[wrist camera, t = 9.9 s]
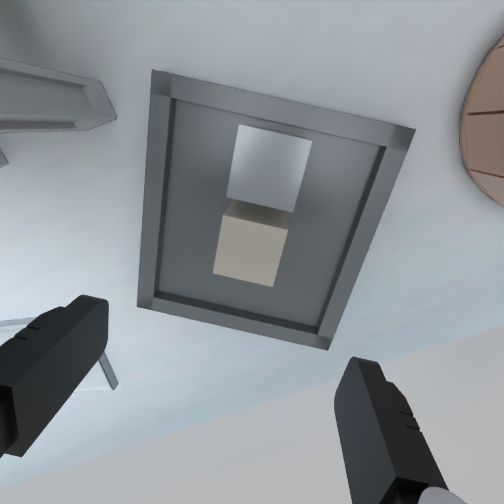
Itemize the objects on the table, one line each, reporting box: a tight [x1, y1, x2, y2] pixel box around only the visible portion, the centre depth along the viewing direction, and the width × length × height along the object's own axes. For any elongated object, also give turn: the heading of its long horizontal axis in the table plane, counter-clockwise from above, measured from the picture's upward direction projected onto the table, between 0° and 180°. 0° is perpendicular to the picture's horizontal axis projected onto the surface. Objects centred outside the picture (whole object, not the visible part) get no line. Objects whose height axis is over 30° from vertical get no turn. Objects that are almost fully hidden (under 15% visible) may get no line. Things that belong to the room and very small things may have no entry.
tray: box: [137, 69, 416, 350], centre depth 21 cm, size 16×15×1 cm
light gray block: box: [226, 124, 312, 212], centre depth 17 cm, size 4×4×4 cm
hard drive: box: [0, 317, 119, 393], centre depth 28 cm, size 2×8×12 cm
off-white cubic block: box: [213, 199, 288, 287], centre depth 19 cm, size 4×4×4 cm
